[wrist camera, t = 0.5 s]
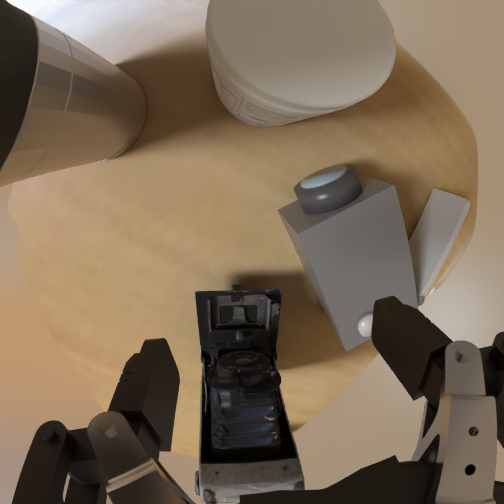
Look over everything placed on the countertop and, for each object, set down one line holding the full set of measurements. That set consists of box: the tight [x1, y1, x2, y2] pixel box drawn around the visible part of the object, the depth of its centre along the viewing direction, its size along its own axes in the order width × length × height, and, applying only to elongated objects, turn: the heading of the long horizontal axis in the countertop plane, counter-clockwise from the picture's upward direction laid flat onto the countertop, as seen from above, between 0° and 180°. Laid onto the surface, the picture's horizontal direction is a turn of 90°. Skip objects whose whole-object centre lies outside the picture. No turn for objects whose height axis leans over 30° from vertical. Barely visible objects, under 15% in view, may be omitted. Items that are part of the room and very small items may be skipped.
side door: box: [409, 188, 471, 306], centre depth 26 cm, size 13×2×6 cm, turn 156°
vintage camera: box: [195, 284, 305, 504], centre depth 23 cm, size 10×16×20 cm, turn 179°
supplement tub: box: [206, 0, 396, 127], centre depth 15 cm, size 10×10×15 cm
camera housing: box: [278, 165, 418, 352], centre depth 25 cm, size 16×9×8 cm, turn 26°
